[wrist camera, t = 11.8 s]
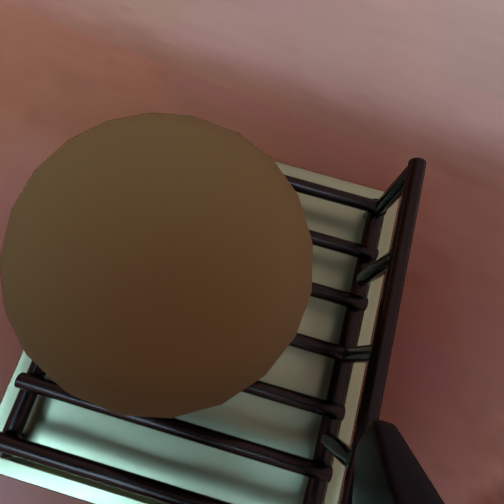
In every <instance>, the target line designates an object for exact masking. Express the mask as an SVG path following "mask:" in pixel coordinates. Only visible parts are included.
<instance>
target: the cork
mask: <svg viewBox="0 0 504 504" xmlns="http://www.w3.org/2000/svg"><path fill="white" fill-rule="evenodd" d="M312 263H313V244H312V239H311V235H310V232H309V229H308V226H307V222H306V219H305V216H304V212H303V209H302V206H301V203H300V199H299V196H298V194H297V193H296V191H295V190H294V188H293V187H292V185H291V184H290V183H289V181H288V180H287V178H286V177H285V176H284V174H283V173H282V171H281V170H280V168H279V167H278V166H277V164H276V163H275V161H274V160H273V159H272V158H271V157H269V156H268V155H267V154H265V153H264V152H263V151H261V150H260V149H259V148H258V147H256V146H255V145H254V144H252V143H251V142H250V141H248V140H247V139H246V138H244V137H243V136H242V135H240V134H239V133H237V132H234V131H231V130H229V129H226V128H223V127H221V126H218V125H215V124H213V123H210V122H207V121H205V120H202V119H199V118H197V117H193V116H187V115H174V114H162V113H144V114H139V115H134V116H129V117H124V118H119V119H113V120H108V121H105V122H103V123H101V124H99V125H97V126H95V127H93V128H91V129H89V130H87V131H85V132H83V133H81V134H79V135H77V136H75V137H73V138H71V139H69V140H68V141H66V142H65V143H64V144H63V145H62V146H61V147H60V148H59V149H58V150H57V151H55V152H54V153H53V154H52V155H51V156H50V157H49V158H48V159H47V160H46V161H44V162H43V163H42V164H41V165H40V166H39V167H38V168H37V169H36V170H35V171H34V172H33V174H32V176H31V177H30V179H29V181H28V182H27V184H26V186H25V187H24V189H23V191H22V192H21V194H20V196H19V197H18V199H17V201H16V202H15V204H14V206H13V207H12V209H11V214H10V218H9V222H8V226H7V231H6V235H5V239H4V243H3V248H2V252H1V257H0V271H1V281H2V291H3V301H4V310H5V312H6V314H7V316H8V318H9V321H10V323H11V325H12V327H13V329H14V331H15V333H16V335H17V337H18V339H19V341H20V343H21V345H22V347H23V349H24V351H25V353H26V355H27V356H28V357H29V358H30V359H31V360H32V361H33V362H34V363H35V364H37V365H38V366H39V367H40V368H41V369H42V370H43V371H44V372H45V373H46V374H47V375H48V376H49V377H50V378H51V379H52V380H53V381H54V382H55V383H57V384H58V385H59V386H60V387H61V388H62V389H63V390H64V391H66V392H68V393H69V394H71V395H73V396H75V397H78V398H80V399H82V400H85V401H87V402H89V403H92V404H94V405H96V406H99V407H101V408H103V409H106V410H108V411H110V412H113V413H115V414H117V415H125V416H141V417H157V418H174V417H178V416H182V415H185V414H189V413H193V412H196V411H200V410H203V409H207V408H211V407H214V406H218V405H222V404H223V403H225V402H226V401H228V400H229V399H231V398H232V397H234V396H235V395H237V394H238V393H240V392H241V391H243V390H244V389H246V388H247V387H249V386H250V385H252V384H253V383H255V382H256V381H258V380H259V379H261V378H262V377H264V376H265V375H266V374H267V372H268V371H269V370H270V369H271V367H272V366H273V365H274V363H275V362H276V361H277V360H278V358H279V357H280V356H281V354H282V353H283V352H284V351H285V349H286V348H287V347H288V345H289V344H290V343H291V342H292V340H293V339H294V338H295V337H296V334H297V331H298V328H299V326H300V323H301V320H302V317H303V315H304V312H305V309H306V306H307V303H308V301H309V298H310V295H311V292H312Z"/></svg>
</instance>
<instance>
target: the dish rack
mask: <svg viewBox="0 0 504 504" xmlns="http://www.w3.org/2000/svg"><path fill="white" fill-rule="evenodd" d="M275 163H276V164H277V166H278V167H279V168H280V170H281V171H282V173H283V174H284V176H285V177H286V178H287V180H288V181H289V183H290V184H291V185H292V187H293V188H294V190H295V191H296V193H297V194H298V196H299V199H300V203H301V206H302V209H303V212H304V216H305V219H306V222H307V226H308V229H309V232H310V235H311V239H312V244H313V263H312V292H311V295H310V298H309V301H308V303H307V306H306V309H305V312H304V315H303V317H302V320H301V323H300V326H299V328H298V331H297V334H296V337H295V338H294V339H293V340H292V342H291V343H290V344H289V345H288V347H287V348H286V349H285V351H284V352H283V353H282V354H281V356H280V357H279V358H278V360H277V361H276V362H275V363H274V365H273V366H272V367H271V369H270V370H269V371H268V372H267V374H266V375H265V376H264V377H262V378H261V379H259V380H258V381H256V382H255V383H253V384H252V385H250V386H249V387H247V388H246V389H244V390H243V391H241V392H240V393H238V394H237V395H235V396H234V397H232V398H231V399H229V400H228V401H226V402H225V403H223V404H222V405H218V406H214V407H211V408H207V409H203V410H200V411H196V412H193V413H189V414H185V415H182V416H178V417H174V418H157V417H141V416H125V415H117V414H115V413H113V412H110V411H108V410H106V409H103V408H101V407H99V406H96V405H94V404H92V403H89V402H87V401H85V400H82V399H80V398H78V397H75V396H73V395H71V394H69V393H68V392H66V391H64V390H63V389H62V388H61V387H60V386H59V385H58V384H57V383H55V382H54V381H53V380H52V379H51V378H50V377H49V376H48V375H47V374H46V373H45V372H44V371H43V370H42V369H41V368H40V367H39V366H38V365H37V364H35V363H34V362H33V361H32V360H31V359H30V358H29V357H28V356H27V355H26V353H25V351H24V349H23V352H22V354H21V356H20V359H19V361H18V363H17V366H16V368H15V370H14V373H13V375H12V377H11V380H10V382H9V385H8V387H7V389H6V392H5V394H4V396H3V399H2V401H1V403H0V475H3V476H7V477H10V478H13V479H16V480H19V481H22V482H26V483H29V484H32V485H35V486H38V487H42V488H45V489H48V490H51V491H54V492H58V493H61V494H64V495H67V496H70V497H73V498H77V499H80V500H83V501H86V502H89V503H93V504H338V502H339V497H340V492H341V487H342V482H343V477H344V472H345V467H346V468H347V472H346V477H345V482H344V487H343V492H342V497H341V502H340V504H352V496H353V480H354V464H355V452H356V448H357V445H358V443H359V441H360V439H361V437H362V436H363V434H364V432H365V430H366V429H367V427H368V425H369V423H370V422H371V421H372V420H373V419H379V416H380V410H381V405H382V399H383V394H384V389H385V383H386V378H387V373H388V367H389V362H390V357H391V351H392V346H393V340H394V335H395V330H396V324H397V319H398V314H399V308H400V303H401V297H402V292H403V287H404V281H405V276H406V271H407V265H408V260H409V254H410V249H411V244H412V238H413V233H414V228H415V222H416V217H417V211H418V206H419V201H420V195H421V190H422V185H423V179H424V174H425V168H426V161H425V160H424V159H422V158H412V159H410V161H409V162H408V166H407V167H406V168H405V169H404V170H403V172H402V173H401V174H400V175H399V176H398V177H397V178H396V180H395V181H394V182H393V183H392V184H391V185H390V186H389V188H388V189H387V190H386V191H385V192H383V191H380V190H376V189H373V188H369V187H365V186H362V185H358V184H355V183H351V182H347V181H344V180H340V179H336V178H333V177H329V176H326V175H322V174H318V173H315V172H311V171H308V170H304V169H300V168H297V167H293V166H290V165H286V164H282V163H279V162H275ZM401 196H402V197H401ZM400 197H401V202H400V207H399V212H398V217H397V222H396V227H395V232H394V237H393V242H392V247H391V250H390V251H389V248H390V243H391V238H392V233H393V228H394V223H395V218H396V213H397V208H398V203H399V198H400ZM385 274H386V277H385V282H384V287H383V292H382V297H381V302H380V307H379V312H378V317H377V322H376V327H375V332H374V337H373V342H372V344H370V343H371V338H372V333H373V328H374V323H375V318H376V313H377V308H378V303H379V298H380V293H381V288H382V283H383V278H384V275H385ZM366 363H368V367H367V372H366V377H365V382H364V387H363V392H362V397H361V402H360V407H359V412H358V417H357V422H356V427H355V432H354V437H353V442H352V447H351V446H350V442H351V437H352V432H353V427H354V422H355V417H356V412H357V407H358V402H359V397H360V392H361V387H362V382H363V378H364V373H365V368H366Z"/></svg>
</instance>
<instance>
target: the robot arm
mask: <svg viewBox="0 0 504 504" xmlns="http://www.w3.org/2000/svg"><path fill="white" fill-rule="evenodd" d="M352 504H444V502H443V500H442V499H441V497H440V496H439V494H438V492H437V491H436V489H435V488H434V486H433V484H432V483H431V481H430V480H429V478H428V476H427V475H426V473H425V472H424V470H423V468H422V467H421V465H420V464H419V462H418V460H417V459H416V457H415V456H414V454H413V453H412V451H411V449H410V448H409V446H408V445H407V443H406V441H405V440H404V438H403V437H402V435H401V433H400V432H399V430H398V429H397V427H396V426H395V425H394V424H392V423H389V422H385V421H382V420H379V419H373V420H372V421H371V422H370V423H369V425H368V427H367V429H366V430H365V432H364V434H363V436H362V437H361V439H360V441H359V443H358V445H357V448H356V452H355V464H354V480H353V496H352Z"/></svg>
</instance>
